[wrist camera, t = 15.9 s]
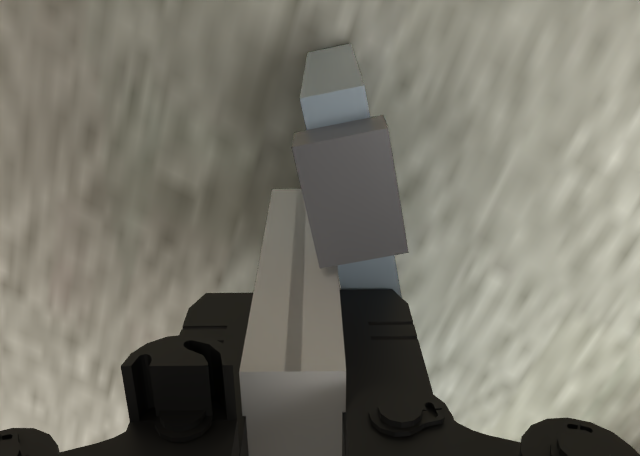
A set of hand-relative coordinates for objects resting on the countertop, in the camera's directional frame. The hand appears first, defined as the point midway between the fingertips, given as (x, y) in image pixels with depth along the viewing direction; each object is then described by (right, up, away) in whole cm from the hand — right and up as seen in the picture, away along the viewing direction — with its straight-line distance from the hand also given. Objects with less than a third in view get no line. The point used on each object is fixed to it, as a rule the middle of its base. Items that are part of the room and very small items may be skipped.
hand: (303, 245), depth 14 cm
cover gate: (+2, -1, +2) cm, 3 cm away
